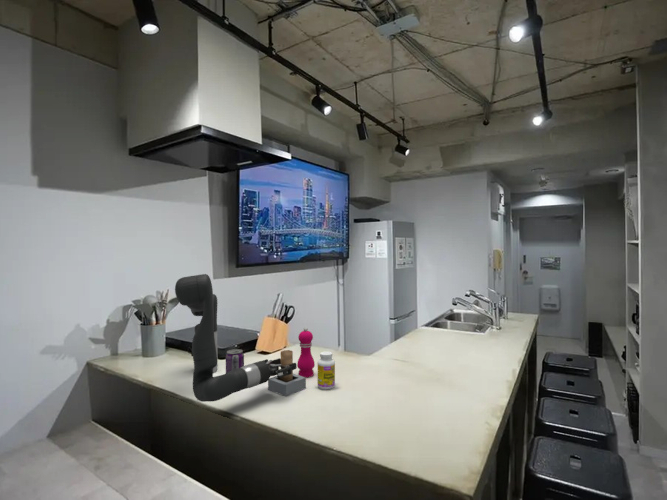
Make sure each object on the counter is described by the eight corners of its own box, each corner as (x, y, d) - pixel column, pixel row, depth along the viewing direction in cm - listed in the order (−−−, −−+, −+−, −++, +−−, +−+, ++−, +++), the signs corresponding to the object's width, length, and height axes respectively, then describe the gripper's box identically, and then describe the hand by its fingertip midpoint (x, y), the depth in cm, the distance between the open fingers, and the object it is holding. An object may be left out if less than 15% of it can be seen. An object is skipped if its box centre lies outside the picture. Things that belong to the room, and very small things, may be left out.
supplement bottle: (322, 391, 134) (321, 356, 134) (314, 385, 140) (314, 352, 140) (338, 388, 137) (337, 354, 137) (330, 382, 143) (329, 349, 143)
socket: (268, 389, 136) (268, 378, 136) (288, 381, 144) (288, 371, 144) (285, 396, 130) (285, 385, 130) (305, 388, 137) (305, 377, 137)
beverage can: (247, 379, 147) (247, 350, 147) (236, 385, 140) (235, 354, 140) (234, 377, 150) (233, 348, 150) (221, 382, 143) (221, 352, 143)
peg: (278, 389, 136) (278, 352, 136) (287, 385, 140) (287, 349, 140) (286, 392, 133) (286, 354, 133) (295, 388, 137) (295, 351, 137)
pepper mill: (312, 378, 147) (311, 329, 147) (295, 377, 148) (294, 328, 148) (316, 372, 154) (316, 325, 154) (300, 371, 156) (299, 325, 155)
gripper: (266, 368, 120) (301, 356, 132) (240, 359, 129) (275, 350, 142) (266, 390, 120) (301, 377, 133) (240, 380, 130) (275, 369, 142)
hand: (288, 363), depth 137 cm, fingers open, 8 cm apart
